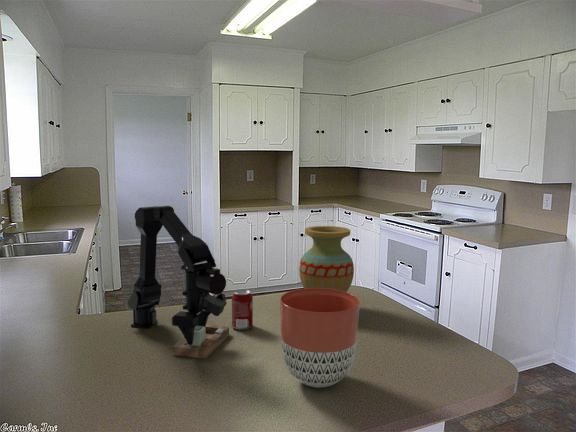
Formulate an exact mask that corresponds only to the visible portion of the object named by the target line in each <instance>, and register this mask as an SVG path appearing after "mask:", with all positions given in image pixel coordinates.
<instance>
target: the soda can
mask: <svg viewBox="0 0 576 432" xmlns="http://www.w3.org/2000/svg"><path fill="white" fill-rule="evenodd" d="M253 298H254V297H253V295H252V293H251V290H249V289H246V288H245V289H243V288H241V289H236V290H234V291H233V294H232V296H231V327H232V328H234V329H235V330H240V331H245V330H249V329H250V328H252V327H253V323H254V322H253V321H254V319H253V316H254V315H253V314H254V313H253V309H254V308H253V305H254V304H253V300H254V299H253Z"/></svg>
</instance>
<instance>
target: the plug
mask: <svg viewBox="0 0 576 432" xmlns="http://www.w3.org/2000/svg"><path fill="white" fill-rule="evenodd" d="M205 341H206V330H205V327H203V326H196V327H195V329H194V338H193V344H192V345H190V346H199V347H202V346H203V343H204V342H205ZM187 345H189V344H188V343H187Z"/></svg>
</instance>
